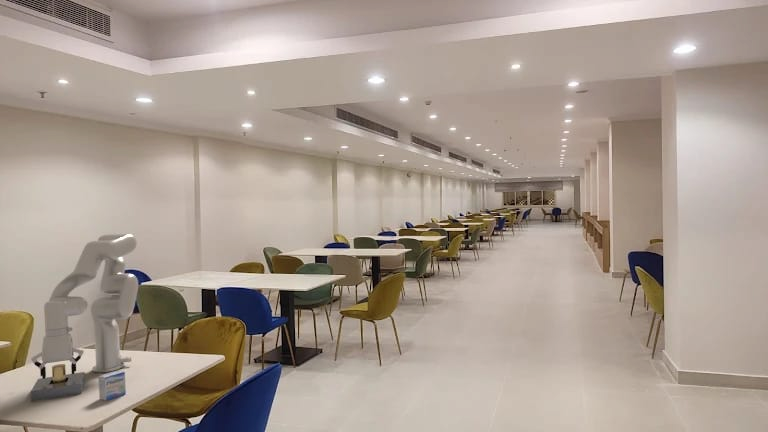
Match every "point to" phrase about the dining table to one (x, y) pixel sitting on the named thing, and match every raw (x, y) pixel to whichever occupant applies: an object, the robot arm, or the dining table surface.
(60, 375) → the brass peg
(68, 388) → the socket block
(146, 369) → the dining table surface
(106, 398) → the medicine box
